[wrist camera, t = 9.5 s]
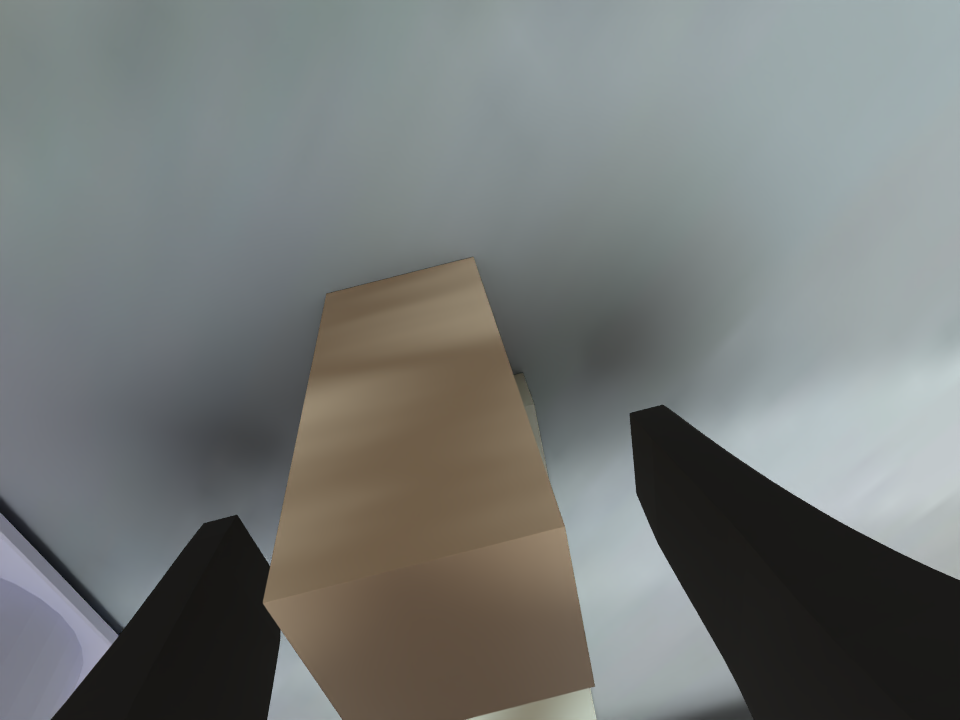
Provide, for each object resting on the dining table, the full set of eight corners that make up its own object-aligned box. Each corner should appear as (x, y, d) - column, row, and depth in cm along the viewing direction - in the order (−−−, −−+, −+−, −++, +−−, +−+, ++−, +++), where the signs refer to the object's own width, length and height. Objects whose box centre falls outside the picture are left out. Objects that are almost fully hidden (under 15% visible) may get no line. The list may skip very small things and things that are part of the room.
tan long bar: (499, 766, 23) (538, 1033, 17) (302, 299, 11) (212, 616, 6) (597, 741, 23) (671, 999, 17) (497, 250, 11) (614, 513, 6)
